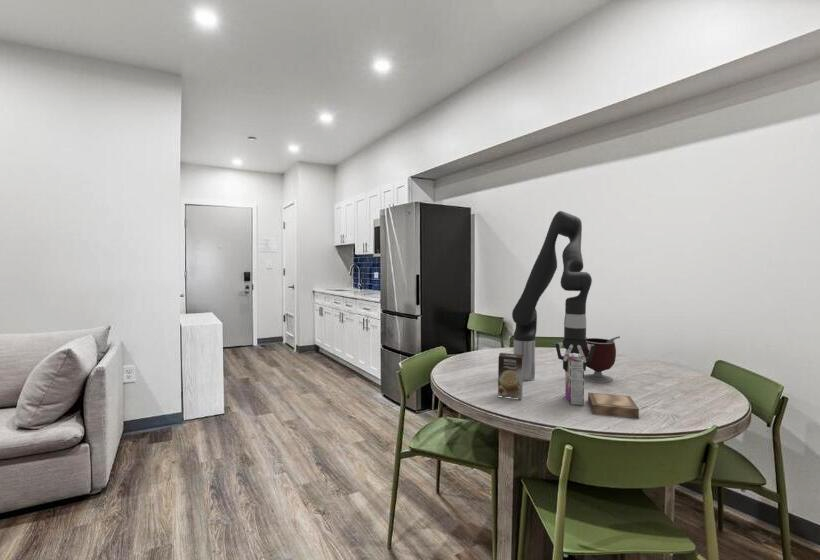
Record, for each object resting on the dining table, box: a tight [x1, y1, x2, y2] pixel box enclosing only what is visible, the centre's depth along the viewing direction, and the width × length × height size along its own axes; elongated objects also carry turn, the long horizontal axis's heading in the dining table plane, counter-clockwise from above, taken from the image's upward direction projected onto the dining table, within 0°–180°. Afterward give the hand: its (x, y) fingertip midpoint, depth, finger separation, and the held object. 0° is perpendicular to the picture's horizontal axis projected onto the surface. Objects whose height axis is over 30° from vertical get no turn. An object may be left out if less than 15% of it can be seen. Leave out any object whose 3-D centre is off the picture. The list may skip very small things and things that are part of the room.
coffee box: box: [497, 352, 524, 399], centre depth 158 cm, size 9×6×16 cm
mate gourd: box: [583, 335, 621, 384], centre depth 181 cm, size 16×14×20 cm
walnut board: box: [587, 392, 640, 419], centre depth 144 cm, size 14×14×3 cm
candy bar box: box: [564, 353, 585, 406], centre depth 153 cm, size 11×5×16 cm, turn 168°
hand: (574, 371), depth 152 cm, fingers closed on candy bar box, 5 cm apart
